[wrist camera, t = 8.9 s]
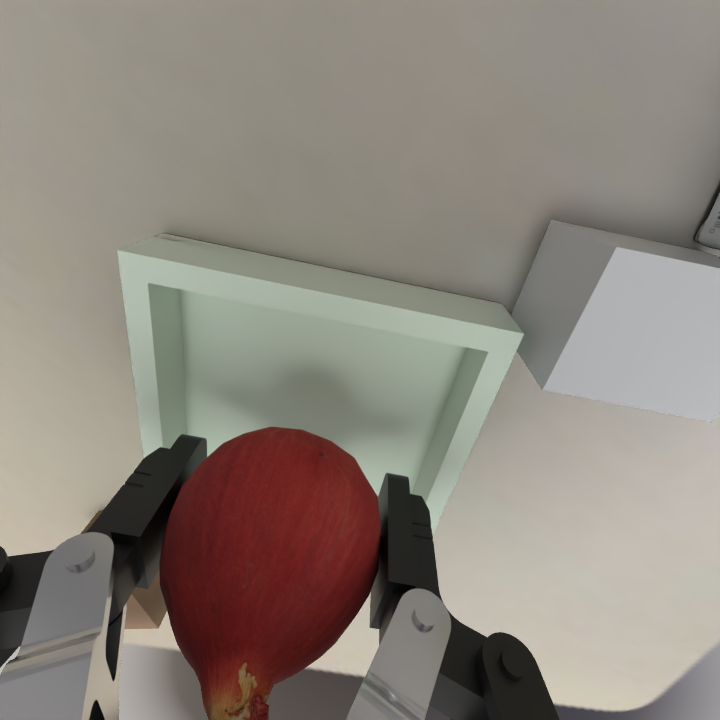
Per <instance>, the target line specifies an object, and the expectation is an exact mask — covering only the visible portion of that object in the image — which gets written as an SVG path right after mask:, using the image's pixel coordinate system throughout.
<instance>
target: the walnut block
mask: <svg viewBox="0 0 720 720" xmlns="http://www.w3.org/2000/svg"><path fill="white" fill-rule="evenodd" d="M101 513H102V511H98V513H97V514H96V515H95V516H94V518H93V519H92V520H91V521H90V523H89V524H88V525H87V526H86V528H85V529H84V530H83V531H82V533H81V534H83V533H85V532H86V531H87V530H88V529H89V528H90V527H91V526H92V524H93V523H94V522H95V520H96V519H97V518H98V517H99V515H100V514H101ZM126 604H127V610H126V619H125V629H152V628H159V626H160V624H161V622H162V620H163V618H164V616H165V614H166V612H167V608H166V605H165V601H164V598H163V594H162V591H161V588H160V571H159V570H158V572H157V574H156V576H155V578H154V580H153V582H152V583H151V585H150V587H149V589H144V588H138V587H135V589H134V590H133V592H132V594H131V596H130V597H129V599H128V601H127V603H126Z"/></svg>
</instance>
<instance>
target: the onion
mask: <svg viewBox="0 0 720 720" xmlns="http://www.w3.org/2000/svg"><path fill="white" fill-rule="evenodd" d="M380 551H381V525H380V514H379V504H378V496H377V495H376V493H375V491H374V490H373V488H372V486H371V485H370V483H369V482H368V480H367V478H366V477H365V475H364V473H363V471H362V470H361V468H360V466H359V464H358V463H357V461H356V459H355V458H354V457H353V456H351V455H350V454H349V453H347V452H346V451H344V450H343V449H342V448H340V447H339V446H337V445H336V444H335V443H333V442H332V441H330V440H328V439H325V438H322V437H320V436H317V435H315V434H312V433H310V432H307V431H304V430H301V429H291V428H282V427H272V426H271V427H267V428H263V429H259V430H255V431H251V432H247V433H244V434H241V435H239V436H237V437H235V438H233V439H231V440H229V441H226V442H224V443H223V444H221V445H220V446H219V447H218V448H217V449H216V450H215V451H214V452H212V453H211V454H210V455H209V456H208V457H207V458H206V459H205V460H204V461H202V462H201V464H200V465H199V466H198V467H197V468H196V470H195V471H194V472H193V473H192V474H191V476H190V477H189V478H188V479H187V480H186V482H185V483H184V484H183V486H182V488H181V490H180V492H179V494H178V497H177V499H176V501H175V503H174V506H173V508H172V510H171V513H170V516H169V519H168V523H167V526H166V529H165V533H164V536H163V542H162V548H161V555H160V561H159V571H160V588H161V591H162V594H163V598H164V601H165V605H166V608H167V611H168V615H169V619H170V623H171V627H172V630H173V633H174V636H175V639H176V642H177V644H178V646H179V648H180V650H181V651H182V653H183V655H184V657H185V659H186V660H187V661H188V663H189V664H190V665H191V667H192V668H193V669H194V671H195V673H196V675H197V677H198V680H199V682H200V684H201V691H202V698H203V704H204V708H205V710H206V713H207V716H208V718H209V720H268V712H269V705H267V704H266V701H267V699H268V697H269V694H270V692H271V690H272V687H273V685H274V684H276V683H279V682H281V681H283V680H285V679H287V678H289V677H291V676H293V675H294V674H296V673H298V672H299V671H301V670H302V669H304V668H306V667H307V666H308V665H310V664H311V663H313V662H314V661H316V660H317V659H318V658H320V657H321V656H322V655H323V654H324V653H325V652H326V651H328V650H329V649H330V648H331V647H332V646H333V645H334V644H335V643H336V642H337V640H338V639H339V638H340V636H341V635H342V634H343V632H344V631H345V630H346V629H347V627H348V626H349V624H350V623H351V622H352V620H353V619H354V618H355V616H356V615H357V614H358V612H359V610H360V609H361V607H362V605H363V604H364V602H365V601H366V599H367V597H368V596H369V594H370V591H371V589H372V586H373V584H374V581H375V579H376V576H377V573H378V569H379V561H380Z"/></svg>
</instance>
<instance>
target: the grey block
mask: <svg viewBox="0 0 720 720" xmlns="http://www.w3.org/2000/svg"><path fill="white" fill-rule="evenodd" d="M511 317H512V318H513V320H514V321H515V322H516V324H517V325H518V326H519V328H520V329H521V330H522V332H523V333H524V335H523V338H522V340H521V342H520V344H519V346H518V349H517V352H518V353H519V355H520V356H521V358H522V359H523V361H524V363H525V364H526V366H527V367H528V369H529V370H530V372H531V373H532V375H533V376H534V378H535V379H536V381H537V382H538V384H539V385H540V387H541V389H542V390H544V391H550V392H555V393H560V394H565V395H570V396H576V397H581V398H586V399H591V400H596V401H602V402H607V403H612V404H617V405H622V406H628V407H633V408H638V409H643V410H648V411H653V412H659V413H664V414H669V415H674V416H679V417H685V418H690V419H695V420H700V421H705V422H711V423H712V422H713V421H714V420H715V419H716V417H717V416H718V415H719V414H720V257H718V256H715V255H712V254H708V253H705V252H702V251H698V250H694V249H689V248H684V247H679V246H675V245H670V244H665V243H660V242H655V241H651V240H646V239H641V238H636V237H632V236H627V235H622V234H617V233H613V232H608V231H603V230H598V229H593V228H589V227H584V226H579V225H574V224H570V223H565V222H560V221H555V220H551V221H550V223H549V225H548V228H547V230H546V233H545V235H544V237H543V240H542V242H541V245H540V247H539V249H538V252H537V254H536V257H535V259H534V261H533V264H532V266H531V269H530V271H529V273H528V276H527V278H526V281H525V283H524V285H523V288H522V290H521V293H520V295H519V297H518V300H517V302H516V305H515V307H514V309H513V312H512V314H511Z"/></svg>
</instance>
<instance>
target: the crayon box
mask: <svg viewBox="0 0 720 720" xmlns="http://www.w3.org/2000/svg"><path fill="white" fill-rule="evenodd" d="M695 240H696V241H697V242H699V243H701V244H702V245H704V246H707V247H710V248H714V249H718V250H720V193H719V195H718V197H717V199H716V202H715V204H714V206H713V208H712V210H711V212H710V215H709V217H708V219H707V220H706V221H705V222H704V223H703V224H702V225H701V227H700V228H699V230H698V232H697V235H696V237H695Z"/></svg>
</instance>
